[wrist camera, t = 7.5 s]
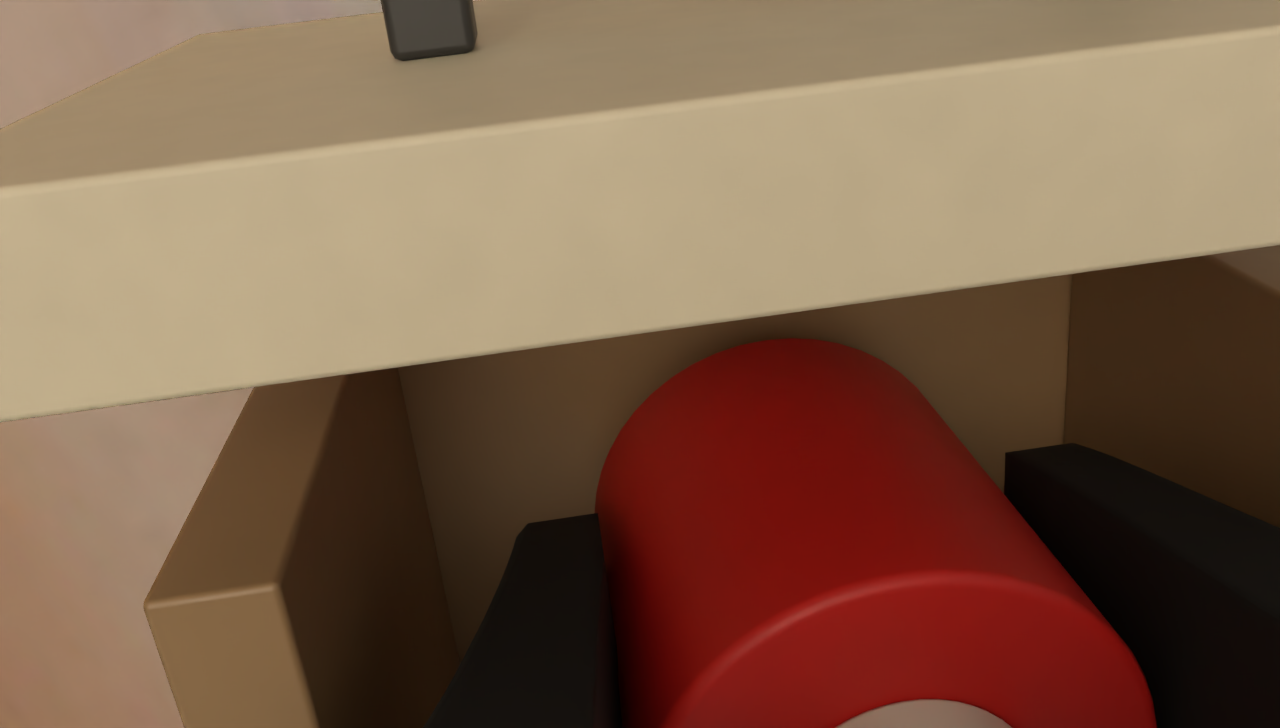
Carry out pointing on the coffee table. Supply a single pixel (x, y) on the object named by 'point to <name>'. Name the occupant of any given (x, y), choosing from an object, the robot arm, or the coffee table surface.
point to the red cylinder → (836, 563)
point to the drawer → (621, 275)
